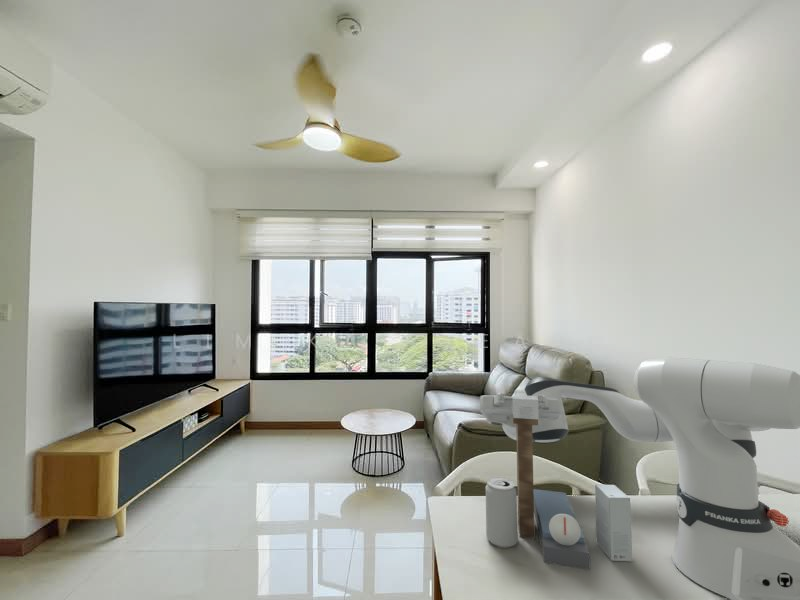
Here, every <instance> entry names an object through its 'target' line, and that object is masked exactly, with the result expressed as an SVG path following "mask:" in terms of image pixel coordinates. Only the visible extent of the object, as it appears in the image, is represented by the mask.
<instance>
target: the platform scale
mask: <svg viewBox="0 0 800 600" xmlns="http://www.w3.org/2000/svg"><path fill="white" fill-rule="evenodd" d="M533 490H534V521H535V525H536V530H537V534H538V539H539V544H540V548H541V553H542V557H543V563H547V564H553V565H557V566H558V565H559V566H565V567H571V568H578V569H584V570H590V569H591V561H590V559H591V557H590V550H589V549H588V546H587V544H586V540H585V537H584V534H583V532H582V530H581V528H580V525H579V523H578V520H577V517H576V515H575V513H574V510H573V508H572V505H571V503H570V501H569V498H568V495H567V493H566V492H563V491H555V490H554V491H553V490H546V489H545V490H544V489H535V488H533ZM590 571H591V570H590Z"/></svg>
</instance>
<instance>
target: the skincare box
mask: <svg viewBox="0 0 800 600" xmlns="http://www.w3.org/2000/svg"><path fill="white" fill-rule="evenodd" d="M594 485H595V486H594V487H595V490H594V491H595V494H594V495H595V521H596V522H595V525H596V526H595V529H596V530H595V533H596V543H597V545H598V546H599V547H600V549H602V551H603V552H604V554H605V555H606V556H607V557H608V558H609V560H610V561H614V562H615V561H616V562H633V535H632V534H633V533H632V531H633V530H632V513H631V512H632V508H631V498H630V496H629V495H628V494H626V493H625V492H623V491H622V490H621V489H620V488H619V487H617V485H615V484H602V483H601V484H600V483H599V484H597V483H596V484H594Z"/></svg>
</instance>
